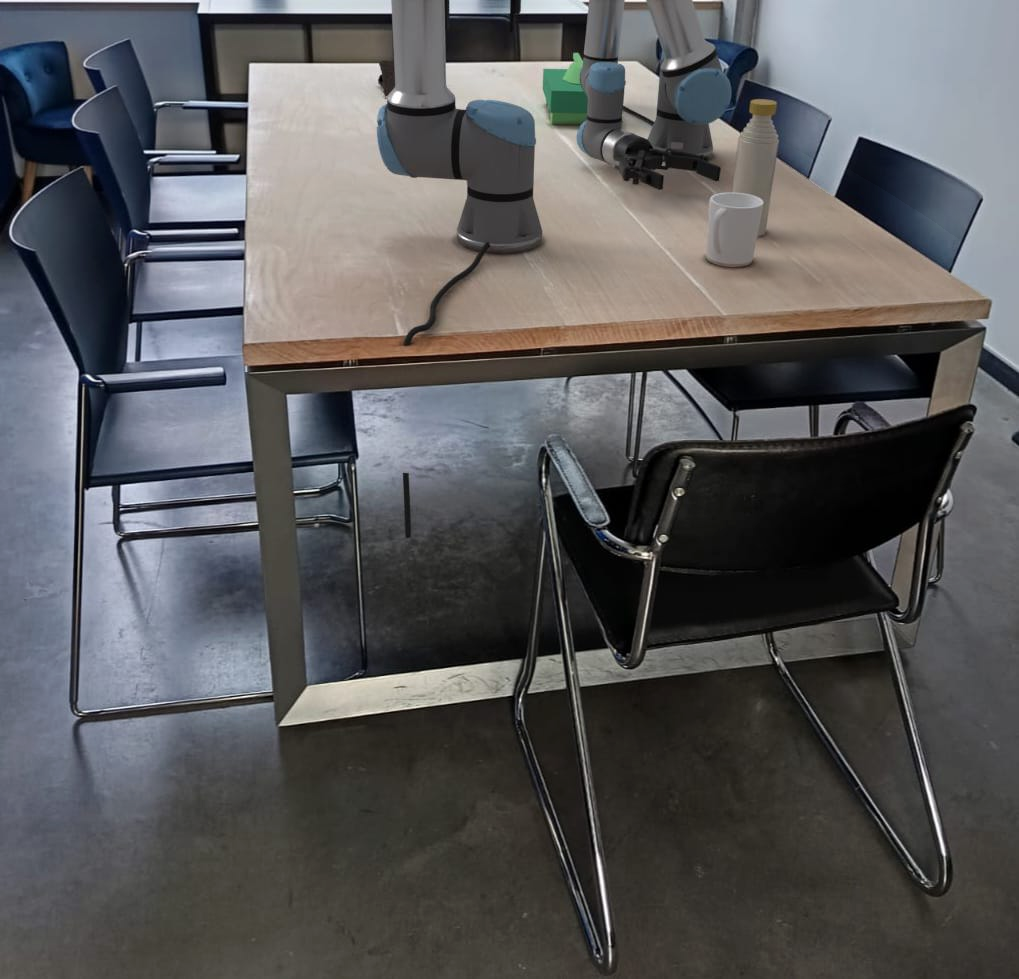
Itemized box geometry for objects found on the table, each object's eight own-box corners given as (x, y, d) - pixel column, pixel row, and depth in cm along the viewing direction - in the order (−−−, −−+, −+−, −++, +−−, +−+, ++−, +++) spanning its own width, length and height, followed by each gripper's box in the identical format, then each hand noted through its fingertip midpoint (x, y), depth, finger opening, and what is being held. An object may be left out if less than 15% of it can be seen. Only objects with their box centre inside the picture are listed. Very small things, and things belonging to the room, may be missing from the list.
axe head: (443, 87, 294) (392, 77, 287) (436, 115, 299) (385, 106, 292) (421, 62, 307) (371, 52, 300) (414, 89, 311) (365, 80, 304)
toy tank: (607, 49, 292) (625, 75, 262) (604, 97, 299) (621, 128, 269) (541, 48, 291) (552, 74, 261) (539, 96, 298) (549, 127, 268)
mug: (719, 246, 195) (726, 189, 189) (764, 258, 190) (773, 199, 185) (687, 262, 187) (693, 203, 182) (733, 275, 183) (741, 214, 177)
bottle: (766, 227, 205) (784, 101, 194) (764, 238, 200) (783, 110, 188) (728, 223, 207) (744, 98, 195) (725, 235, 201) (741, 107, 189)
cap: (776, 111, 194) (777, 100, 193) (774, 116, 190) (776, 105, 189) (749, 109, 194) (751, 98, 193) (748, 114, 191) (749, 103, 190)
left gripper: (546, -87, 213) (542, 30, 224) (421, -91, 216) (423, 24, 227) (541, -85, 207) (537, 35, 218) (412, -89, 210) (415, 30, 221)
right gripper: (675, 163, 234) (739, 189, 218) (576, 177, 223) (635, 206, 208) (679, 127, 230) (743, 151, 214) (578, 140, 219) (638, 166, 204)
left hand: (479, 30), depth 223 cm, fingers open, 13 cm apart
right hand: (690, 178), depth 211 cm, fingers open, 13 cm apart
